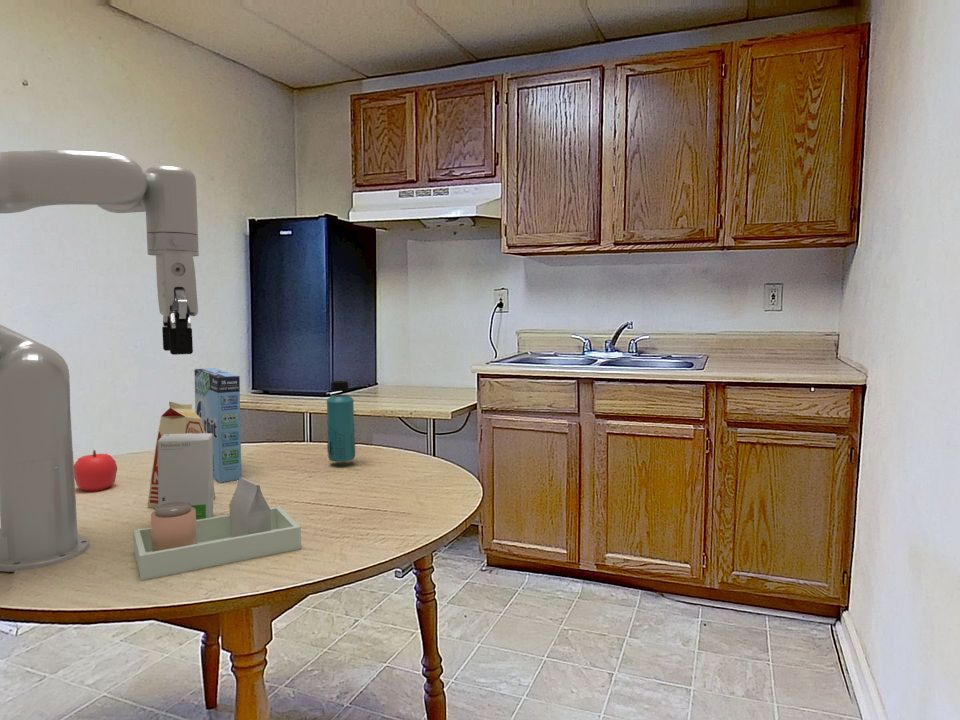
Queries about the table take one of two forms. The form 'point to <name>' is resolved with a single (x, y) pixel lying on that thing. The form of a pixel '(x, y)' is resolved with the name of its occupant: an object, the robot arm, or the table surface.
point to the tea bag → (248, 510)
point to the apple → (95, 472)
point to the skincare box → (186, 471)
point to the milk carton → (173, 422)
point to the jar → (173, 526)
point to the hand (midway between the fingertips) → (177, 352)
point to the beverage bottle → (340, 424)
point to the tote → (215, 546)
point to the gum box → (221, 419)
